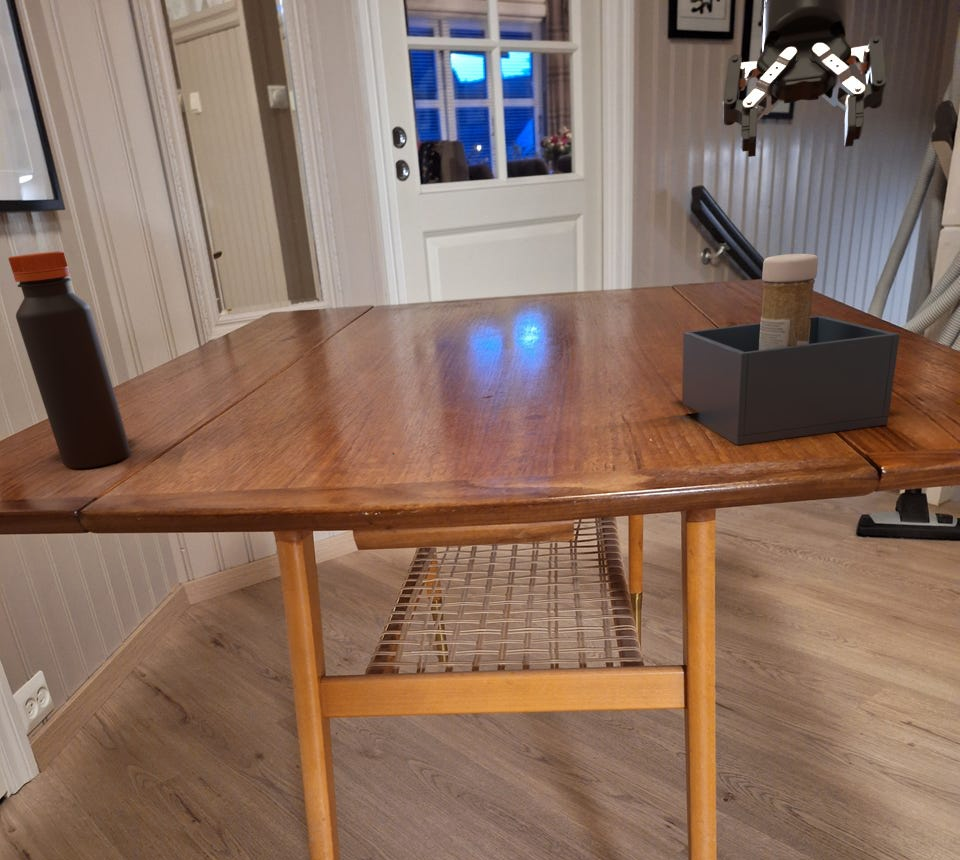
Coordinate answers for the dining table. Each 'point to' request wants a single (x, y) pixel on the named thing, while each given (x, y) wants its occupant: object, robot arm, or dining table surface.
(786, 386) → the open storage bin
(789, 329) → the sprinkles bottle
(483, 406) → the dining table surface
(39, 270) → the vinegar
